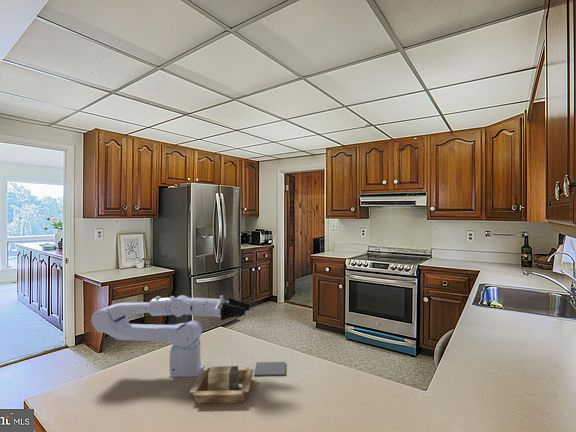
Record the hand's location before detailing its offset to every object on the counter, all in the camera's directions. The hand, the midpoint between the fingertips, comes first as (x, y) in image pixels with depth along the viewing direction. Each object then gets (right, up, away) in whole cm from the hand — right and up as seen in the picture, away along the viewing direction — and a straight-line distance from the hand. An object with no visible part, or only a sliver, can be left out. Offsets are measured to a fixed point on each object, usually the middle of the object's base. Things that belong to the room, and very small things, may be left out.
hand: (247, 309), depth 106 cm
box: (-5, -20, -12) cm, 24 cm away
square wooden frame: (-5, -20, -12) cm, 24 cm away
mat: (+8, -20, +1) cm, 22 cm away
